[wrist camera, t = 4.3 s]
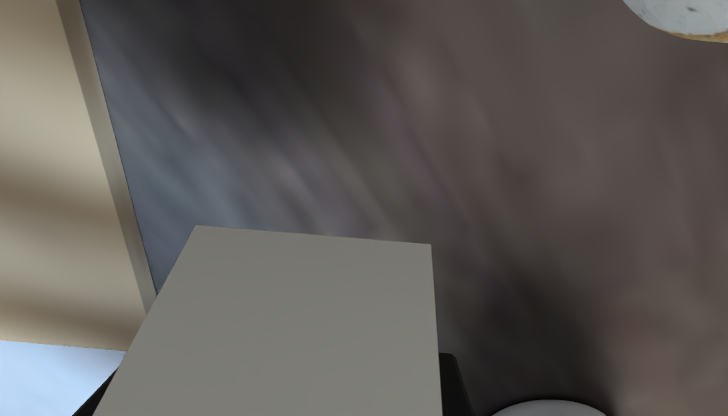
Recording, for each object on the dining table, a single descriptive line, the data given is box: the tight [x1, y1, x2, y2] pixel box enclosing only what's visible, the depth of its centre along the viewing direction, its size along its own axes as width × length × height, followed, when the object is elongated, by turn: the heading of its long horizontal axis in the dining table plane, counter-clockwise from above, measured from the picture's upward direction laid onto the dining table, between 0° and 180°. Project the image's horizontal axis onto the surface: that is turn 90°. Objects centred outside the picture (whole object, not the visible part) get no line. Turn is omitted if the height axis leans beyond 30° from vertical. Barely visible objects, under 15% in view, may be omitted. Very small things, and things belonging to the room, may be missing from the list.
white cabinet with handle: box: [93, 225, 442, 416], centre depth 10 cm, size 5×5×5 cm
